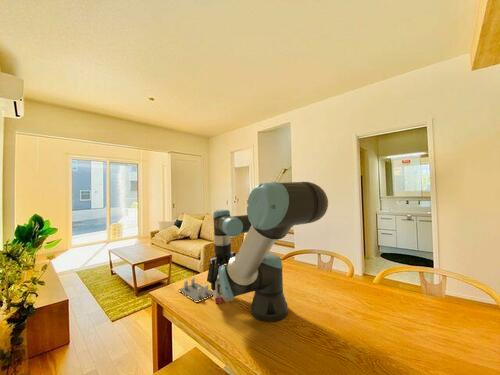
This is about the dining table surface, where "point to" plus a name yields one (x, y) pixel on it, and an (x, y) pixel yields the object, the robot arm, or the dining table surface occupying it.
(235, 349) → the dining table surface
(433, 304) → the dining table surface
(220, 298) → the ink box
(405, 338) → the dining table surface
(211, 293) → the pin tray
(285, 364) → the dining table surface
